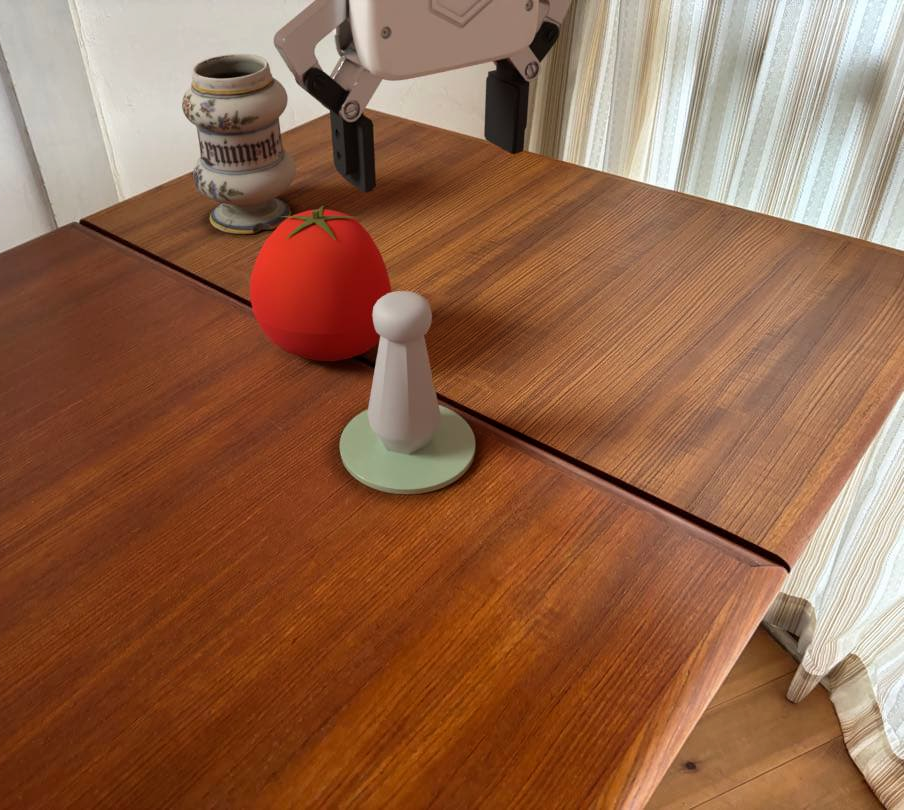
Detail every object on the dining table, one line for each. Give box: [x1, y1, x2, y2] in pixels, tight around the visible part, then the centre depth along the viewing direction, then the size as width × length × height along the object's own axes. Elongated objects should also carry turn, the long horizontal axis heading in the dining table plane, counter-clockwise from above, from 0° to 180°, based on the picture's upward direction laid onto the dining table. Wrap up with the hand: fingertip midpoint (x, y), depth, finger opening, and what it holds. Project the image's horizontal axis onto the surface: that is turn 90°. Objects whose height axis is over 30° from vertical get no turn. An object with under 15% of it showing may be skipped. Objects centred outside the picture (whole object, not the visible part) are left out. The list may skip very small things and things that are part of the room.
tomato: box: [249, 205, 392, 362], centre depth 75 cm, size 13×11×14 cm
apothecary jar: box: [181, 53, 297, 235], centre depth 98 cm, size 12×12×18 cm
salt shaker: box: [367, 290, 441, 455], centre depth 65 cm, size 6×6×13 cm
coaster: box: [339, 404, 477, 495], centre depth 69 cm, size 11×11×1 cm
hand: (432, 164), depth 49 cm, fingers open, 9 cm apart
